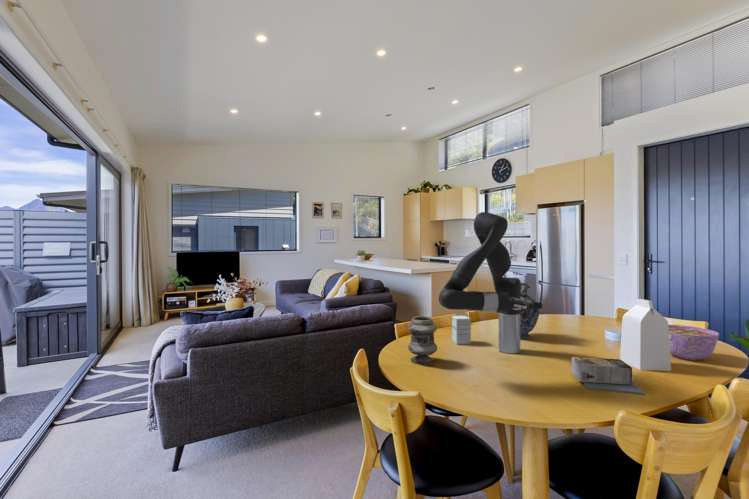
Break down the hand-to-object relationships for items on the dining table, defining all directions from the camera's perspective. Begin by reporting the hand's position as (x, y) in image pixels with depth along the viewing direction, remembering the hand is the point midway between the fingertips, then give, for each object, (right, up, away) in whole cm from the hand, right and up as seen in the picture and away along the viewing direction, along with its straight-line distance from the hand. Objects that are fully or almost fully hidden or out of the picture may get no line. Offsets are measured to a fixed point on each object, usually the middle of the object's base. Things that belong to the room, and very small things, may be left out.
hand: (541, 305), depth 133 cm
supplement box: (-18, -26, +46) cm, 55 cm away
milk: (+46, -26, +11) cm, 54 cm away
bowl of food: (+71, -25, +20) cm, 78 cm away
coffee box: (+10, -22, -4) cm, 25 cm away
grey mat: (+20, -26, -7) cm, 33 cm away
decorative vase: (+14, -25, +55) cm, 62 cm away
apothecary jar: (-41, -26, +18) cm, 52 cm away
